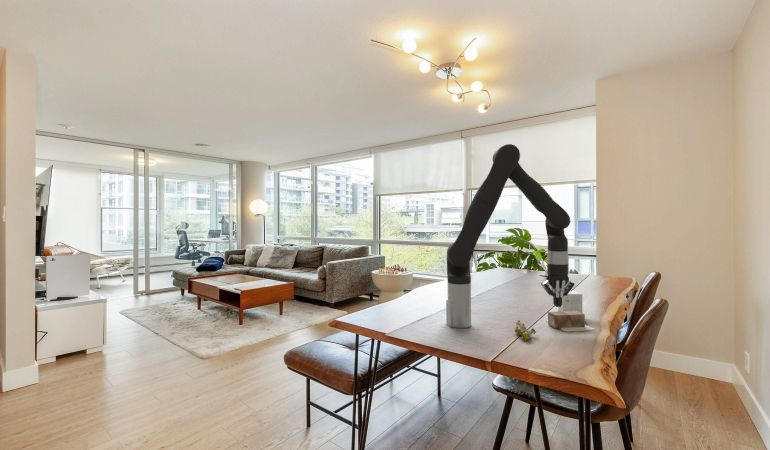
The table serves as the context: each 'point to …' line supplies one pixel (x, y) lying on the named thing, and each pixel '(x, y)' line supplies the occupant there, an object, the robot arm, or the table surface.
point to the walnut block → (566, 319)
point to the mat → (577, 328)
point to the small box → (572, 302)
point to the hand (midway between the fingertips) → (557, 306)
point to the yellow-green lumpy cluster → (523, 331)
